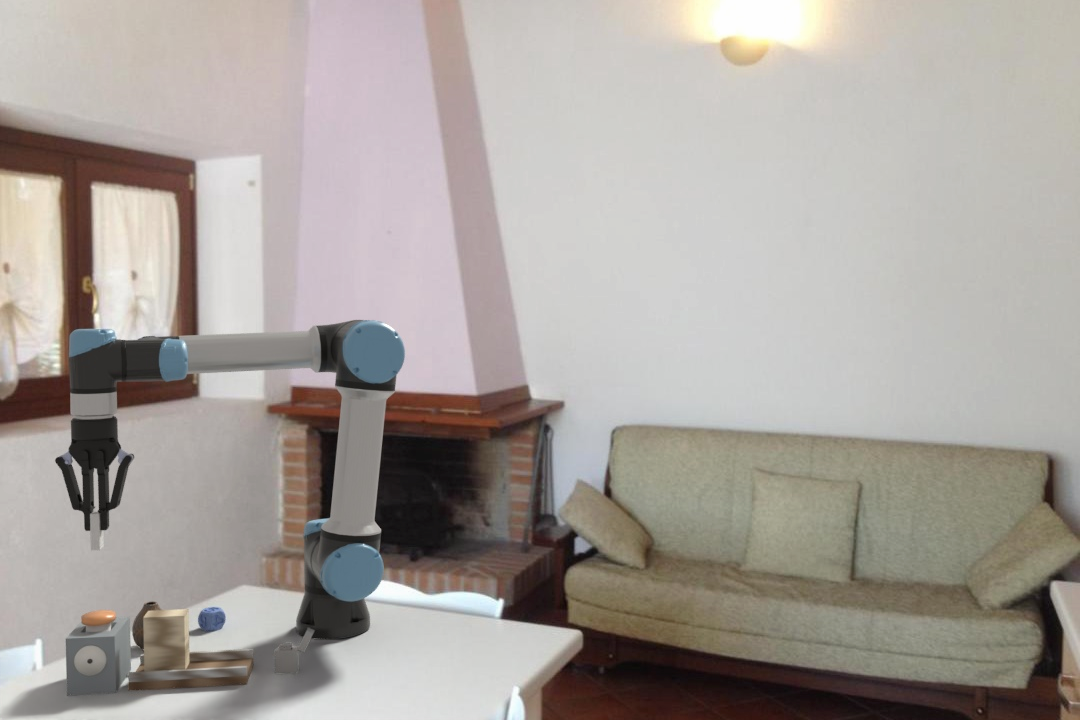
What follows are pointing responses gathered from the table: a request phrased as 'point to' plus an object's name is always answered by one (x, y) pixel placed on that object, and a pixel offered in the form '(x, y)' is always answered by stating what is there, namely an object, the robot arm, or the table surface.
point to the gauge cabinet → (98, 658)
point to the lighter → (290, 655)
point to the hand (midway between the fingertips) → (97, 548)
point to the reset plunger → (98, 620)
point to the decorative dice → (211, 619)
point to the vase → (138, 623)
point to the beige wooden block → (166, 640)
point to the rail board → (197, 671)
